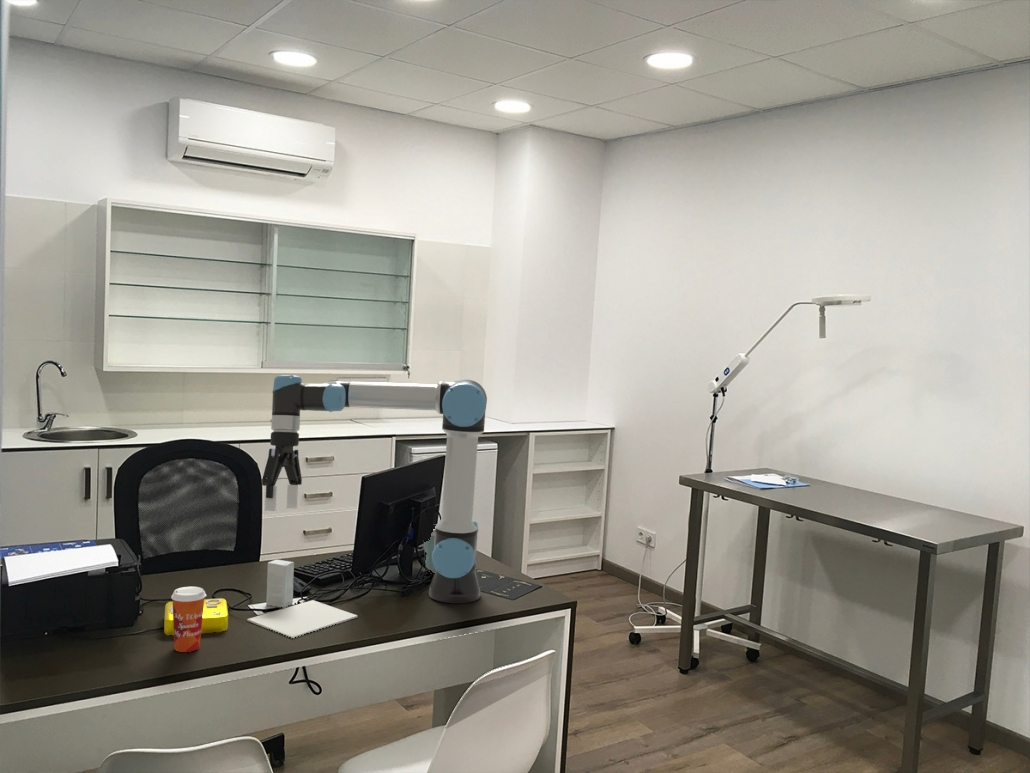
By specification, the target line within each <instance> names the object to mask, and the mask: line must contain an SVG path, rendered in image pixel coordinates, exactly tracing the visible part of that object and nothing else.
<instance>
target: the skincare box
mask: <svg viewBox="0 0 1030 773" xmlns="http://www.w3.org/2000/svg"><path fill="white" fill-rule="evenodd" d="M294 569H295V562H294V561H290V560H289V561H288V560H282V559H274V560H271V561H268V562H267V575H266V606H270V605H272V606H271V607H275V606H278V607H277V608H281V607H282V608H281V609H284V608H287V607H289V606H291V605H293V604H292V603H294V571H295V570H294ZM290 604H291V605H290ZM288 605H289V606H288Z"/></svg>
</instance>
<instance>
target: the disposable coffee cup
mask: <svg viewBox="0 0 1030 773" xmlns="http://www.w3.org/2000/svg"><path fill="white" fill-rule="evenodd" d="M428 540H429V539H428ZM434 540H435V529H433V532H432V533H431V537H430V540H429V541H426V542H424V541H423V544H424V545H423V547H424V548H423V549H424V553H425V552H426V553H427V556H426V560H425V559H424V562H425V568H426V567H427V568H428V569H429V570H431V571H432V572H434V573H435V571H436V569H435V567H434V565H433V561H432V552H433V549H434Z"/></svg>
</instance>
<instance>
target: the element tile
mask: <svg viewBox="0 0 1030 773" xmlns="http://www.w3.org/2000/svg"><path fill="white" fill-rule="evenodd" d="M164 608H165V609H164V619H163V620H164V624H163V626H164V627H163V628H164V629H163V634H164V633H165V634H166V636H169V635H173V637H174V628H173V600H172V601H168V602H167V603H166V604H165V607H164ZM228 610H229V609H228V603H227V600H226V599H225V598H207V599H206V598H204V607H203V618H202V629H201V635H202V634H214V633H213V632H216V633H223V632H222V631H224V632H226V631H228V630H227V629H229V611H228ZM225 630H226V631H225ZM165 634H164V635H165Z"/></svg>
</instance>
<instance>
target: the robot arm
mask: <svg viewBox="0 0 1030 773" xmlns="http://www.w3.org/2000/svg"><path fill="white" fill-rule="evenodd" d="M273 380H274V381H273V387H272V392H271V393H272V406H271V407H272V408H271V419H270V424H271V425H270V426H271V428H270V429H271V430H272V431H271V433H270V442H269V443H270V446H275V448H269V449H268V457H267V460H266V465H265V467H264V472H263V475H262V479H261V486H264V487H265V500H264V511H266V512H267V511H268V512H276V511H277V510H276V509H277V508H276V507H277V490H278V489H277V488H278V486H277V485H276V484H277V481H278V479H279V476H280V473H281V471H282V469H283V468H284V471H285V473H286V477H287V480H288V484H287V492H286V493H287V494H286V509H297V508H298V489H299V486H301V485H302V484H303V482H302V481H303V479H302V473H301V466H300V460H299V449H294V447H298V446H299V443H300V442H299V441H300V439H299V438H300V434H299V433H298V431H300V425H301V424H300V423H301V411H313V412H315V411H316V412H317V411H318V412H331V413H332V412H341V411H343V410H344V409H345V408H364V409H365V408H366V409H389V410H413V411H415V410H416V411H436V413H438V414H439V415H442V425H441V426H442V428H441V430H443V432H444V433H445V434H446V444H445V445H446V447H445V461H444V462H445V463H444V464H445V465H444V477H443V491H442V506H441V507H442V508H441V519H440V520H439V521H438V522H437V523H436V524H435V525H436V526H435V540H434V549H433V552H432V561H433V565H434V567H435V569H436V571H435V574H433V577H432V580H431V582H430V585H429V588H428V595H429V597H430V598H431V599H433V600H434V601H437V602H440V603H445V604H446V603H448V604H468V603H469V604H470V603H472V602H475V601H478V600H479V599H480V598H481V588H480V585H479V580H478V577H477V572H476V566H477V565H476V563H477V549H478V548H477V546H478V533H479V526H478V521H476V520H474V519H473V511H474V501H475V499H474V498H475V485H476V484H475V482H476V474H477V473H476V471H477V469H476V468H477V458H478V457H477V456H478V444H479V437H480V436H481V435H482V434H483V433H484V432H485V422H486V410H487V404H488V403H487V401H488V397H487V393H486V390H485V388H483V386H482V385H481V384H480V383H479V382H477V381H475V380H471V379H461V380H451V381H450V380H449V381H445V380H443V381H442V380H441V381H439V382H438V383H436V384H435V383H434V384H431V383H430V384H429V383H401V382H399V383H398V382H376V381H375V382H370V381H345V380H344V381H343V380H342V381H341V380H338V379H331V380H327V381H326V382H323V383H305V382H303V381H302V380H303V379H302V377H301V376H299V375H290V374H278V375H277V376H275V377H274V379H273Z"/></svg>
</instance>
